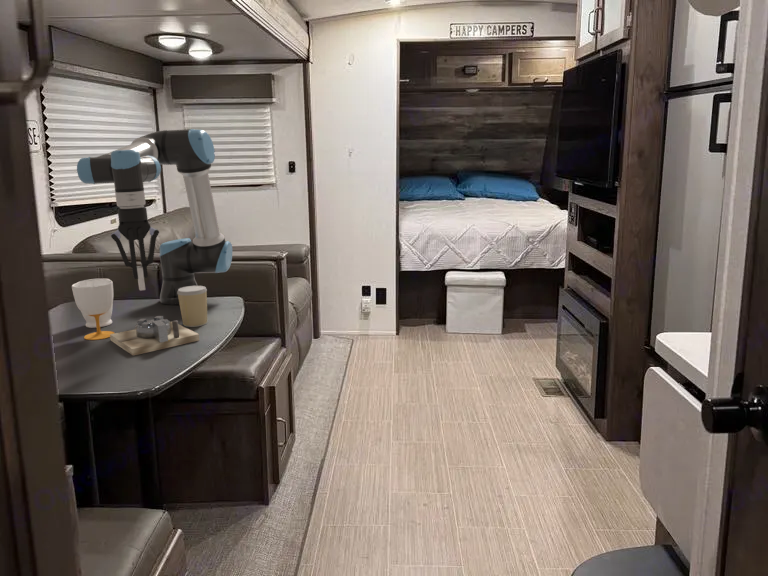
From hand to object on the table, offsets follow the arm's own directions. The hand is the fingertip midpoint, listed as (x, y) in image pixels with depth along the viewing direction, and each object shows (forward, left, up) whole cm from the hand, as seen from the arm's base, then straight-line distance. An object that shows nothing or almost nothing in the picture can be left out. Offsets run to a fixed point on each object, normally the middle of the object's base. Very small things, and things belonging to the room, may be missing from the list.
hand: (142, 289), depth 186 cm
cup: (+6, -26, -18) cm, 32 cm away
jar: (+2, -40, -18) cm, 44 cm away
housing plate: (-5, -8, -18) cm, 20 cm away
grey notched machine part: (-4, -5, -16) cm, 17 cm away
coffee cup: (-22, -17, -18) cm, 33 cm away
